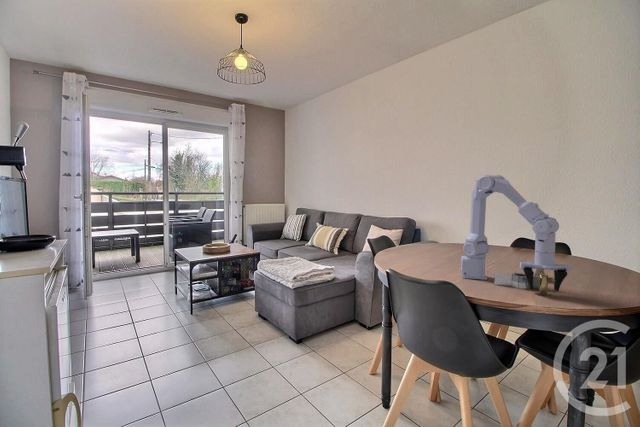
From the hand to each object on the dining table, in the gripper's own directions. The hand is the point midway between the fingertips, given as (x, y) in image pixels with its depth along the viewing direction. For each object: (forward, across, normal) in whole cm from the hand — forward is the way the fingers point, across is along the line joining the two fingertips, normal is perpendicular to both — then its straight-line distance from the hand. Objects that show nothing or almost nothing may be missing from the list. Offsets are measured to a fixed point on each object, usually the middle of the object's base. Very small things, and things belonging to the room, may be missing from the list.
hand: (543, 289), depth 108 cm
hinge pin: (+2, 0, 0) cm, 2 cm away
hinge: (+2, -6, +7) cm, 9 cm away
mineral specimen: (+2, +3, +23) cm, 23 cm away
